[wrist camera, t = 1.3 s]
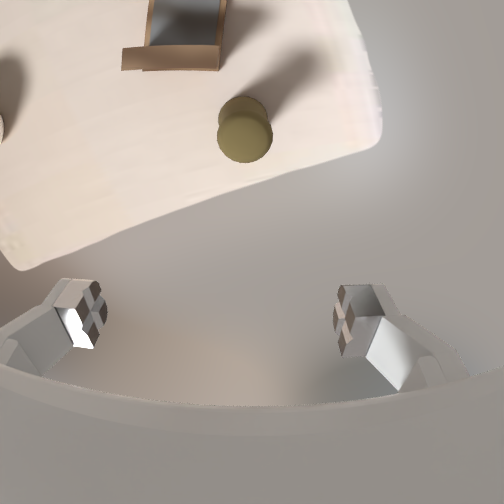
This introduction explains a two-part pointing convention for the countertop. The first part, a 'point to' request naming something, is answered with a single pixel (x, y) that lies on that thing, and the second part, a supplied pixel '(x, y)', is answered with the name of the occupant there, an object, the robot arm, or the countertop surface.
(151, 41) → the holder
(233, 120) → the olive green bulbous cylinder
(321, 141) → the countertop surface
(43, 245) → the countertop surface
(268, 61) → the countertop surface
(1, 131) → the lidded jar
